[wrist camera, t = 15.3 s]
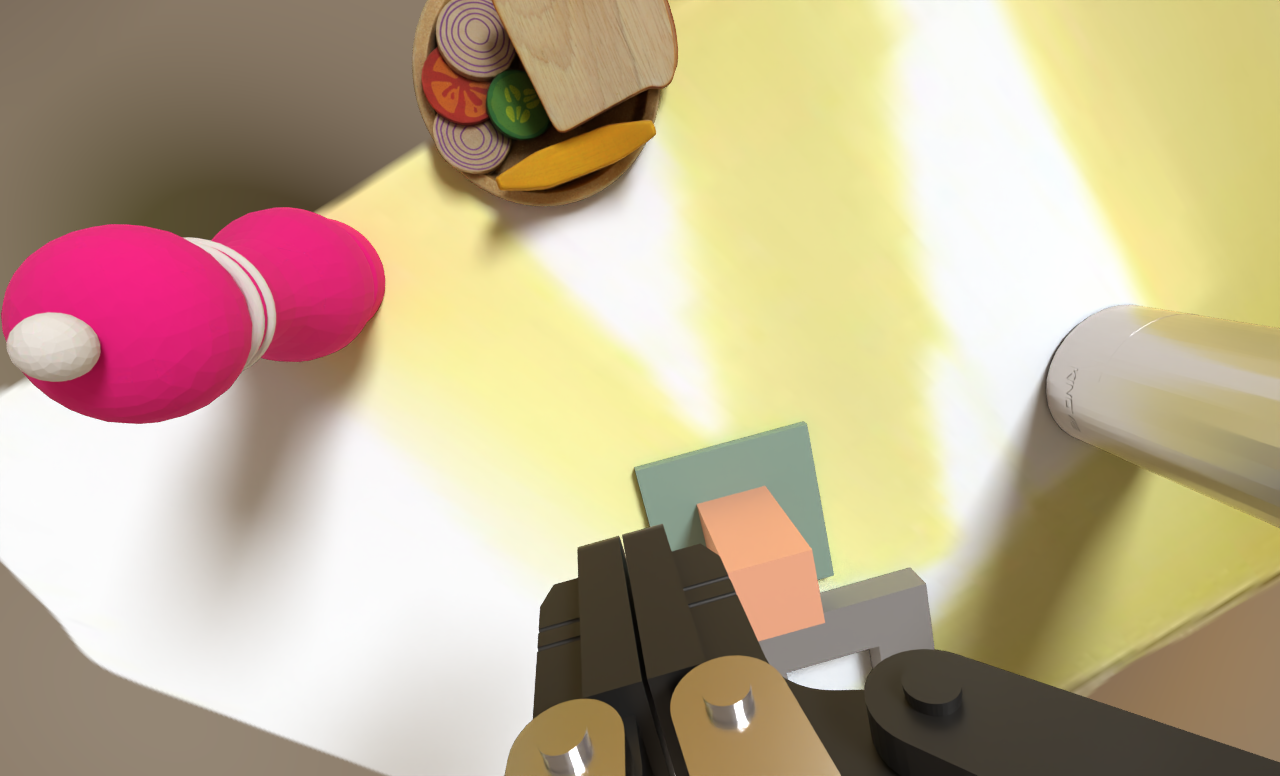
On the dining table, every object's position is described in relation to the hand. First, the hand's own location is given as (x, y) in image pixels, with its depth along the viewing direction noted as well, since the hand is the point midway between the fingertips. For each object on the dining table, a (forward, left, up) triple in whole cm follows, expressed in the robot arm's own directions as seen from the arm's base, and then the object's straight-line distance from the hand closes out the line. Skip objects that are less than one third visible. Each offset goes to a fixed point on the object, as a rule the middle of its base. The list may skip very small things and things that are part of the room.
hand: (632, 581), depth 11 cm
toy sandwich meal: (-1, -13, -28) cm, 31 cm away
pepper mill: (+13, -6, -27) cm, 31 cm away
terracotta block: (-6, +15, -26) cm, 31 cm away
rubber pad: (-6, +15, -27) cm, 31 cm away
